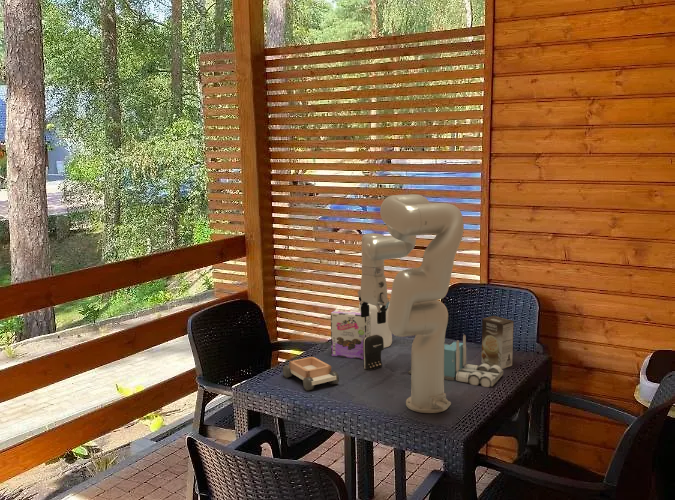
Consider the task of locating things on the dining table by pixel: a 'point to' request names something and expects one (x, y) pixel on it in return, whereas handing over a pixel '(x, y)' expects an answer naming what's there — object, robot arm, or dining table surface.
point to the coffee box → (497, 341)
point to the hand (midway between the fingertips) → (373, 319)
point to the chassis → (311, 372)
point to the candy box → (349, 333)
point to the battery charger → (372, 351)
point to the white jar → (379, 325)
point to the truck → (467, 367)
